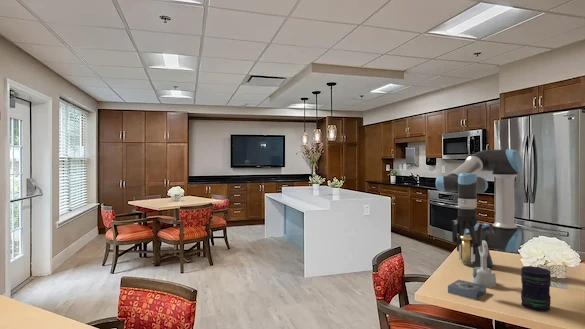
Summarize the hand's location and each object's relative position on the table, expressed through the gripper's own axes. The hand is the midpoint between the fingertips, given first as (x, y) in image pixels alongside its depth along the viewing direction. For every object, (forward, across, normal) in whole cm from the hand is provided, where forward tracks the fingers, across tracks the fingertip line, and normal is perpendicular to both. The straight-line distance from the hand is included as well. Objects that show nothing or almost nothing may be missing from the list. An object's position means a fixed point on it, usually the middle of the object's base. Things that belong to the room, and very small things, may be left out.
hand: (466, 260), depth 158 cm
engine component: (+15, +1, +18) cm, 24 cm away
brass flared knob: (+1, 0, 0) cm, 1 cm away
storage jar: (+15, +25, +4) cm, 29 cm away
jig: (+15, 0, 0) cm, 15 cm away
